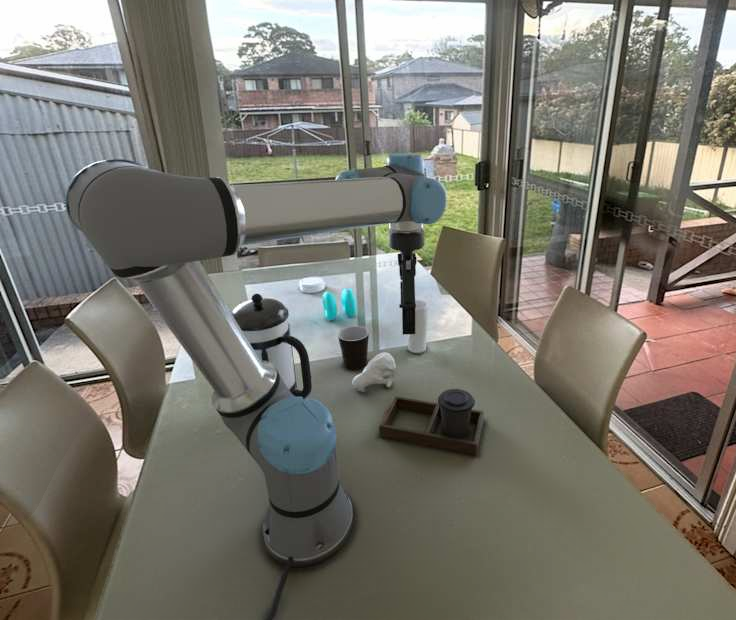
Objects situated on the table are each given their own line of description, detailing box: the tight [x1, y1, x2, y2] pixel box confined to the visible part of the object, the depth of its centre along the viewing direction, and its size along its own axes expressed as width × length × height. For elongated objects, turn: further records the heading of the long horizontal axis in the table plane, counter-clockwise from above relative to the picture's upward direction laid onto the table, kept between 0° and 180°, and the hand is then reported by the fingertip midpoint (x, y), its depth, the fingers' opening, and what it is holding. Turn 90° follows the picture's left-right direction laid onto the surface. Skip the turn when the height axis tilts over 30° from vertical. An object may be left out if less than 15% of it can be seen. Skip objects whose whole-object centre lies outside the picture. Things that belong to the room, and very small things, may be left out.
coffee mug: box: [337, 325, 370, 371], centre depth 126 cm, size 12×9×10 cm
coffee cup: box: [437, 388, 476, 440], centre depth 97 cm, size 8×8×10 cm
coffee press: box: [231, 293, 313, 399], centre depth 103 cm, size 17×16×30 cm
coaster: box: [298, 276, 326, 294], centre depth 178 cm, size 10×10×4 cm
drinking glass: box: [406, 299, 429, 354], centre depth 131 cm, size 7×7×15 cm
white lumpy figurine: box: [351, 351, 397, 393], centre depth 115 cm, size 6×8×12 cm
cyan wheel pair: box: [322, 288, 357, 321], centre depth 152 cm, size 10×10×10 cm
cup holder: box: [379, 395, 485, 457], centre depth 100 cm, size 11×22×3 cm, turn 74°
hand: (407, 319), depth 101 cm, fingers open, 13 cm apart
